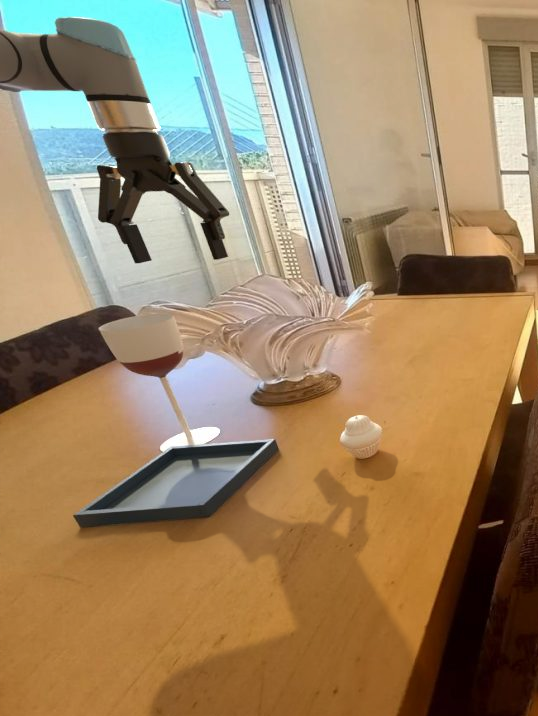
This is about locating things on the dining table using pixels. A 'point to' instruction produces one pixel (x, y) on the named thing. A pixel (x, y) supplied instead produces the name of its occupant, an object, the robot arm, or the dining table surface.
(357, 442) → the muffin
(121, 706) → the dining table surface
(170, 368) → the wineglass
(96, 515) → the tray
